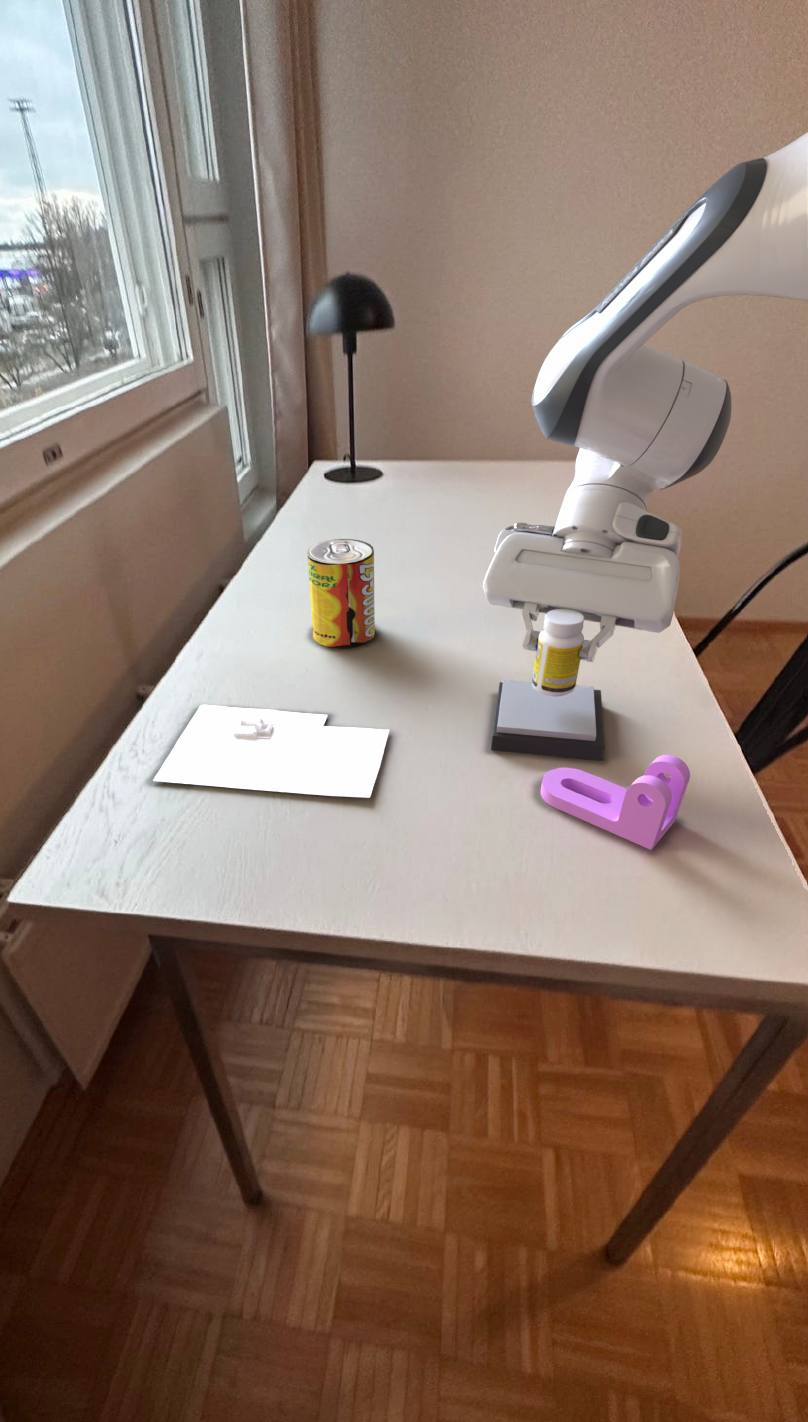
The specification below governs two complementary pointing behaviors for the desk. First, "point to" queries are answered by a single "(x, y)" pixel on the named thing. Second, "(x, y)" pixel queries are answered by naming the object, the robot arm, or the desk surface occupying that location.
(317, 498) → the desk surface
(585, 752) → the scale
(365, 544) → the beverage can
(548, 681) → the supplement bottle
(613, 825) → the bracket
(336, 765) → the paper
